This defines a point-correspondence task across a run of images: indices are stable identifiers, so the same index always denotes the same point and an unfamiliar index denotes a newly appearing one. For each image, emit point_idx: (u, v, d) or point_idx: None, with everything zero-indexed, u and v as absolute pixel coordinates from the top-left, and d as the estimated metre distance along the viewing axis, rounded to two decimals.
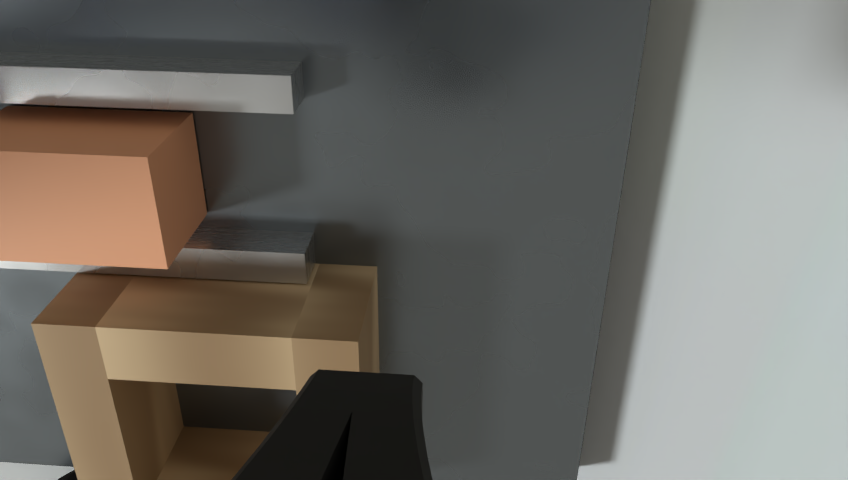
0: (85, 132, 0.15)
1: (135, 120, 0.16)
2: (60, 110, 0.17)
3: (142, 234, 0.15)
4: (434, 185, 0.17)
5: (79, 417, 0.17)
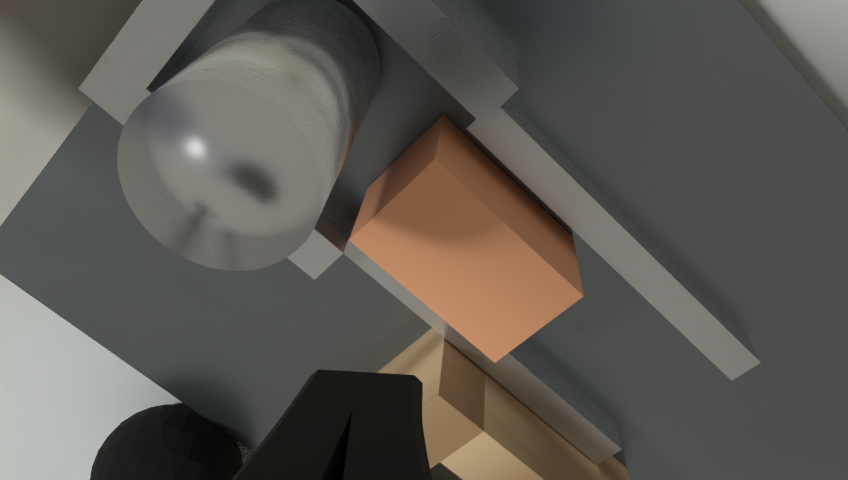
0: (522, 215, 0.16)
1: (544, 220, 0.17)
2: (485, 157, 0.16)
3: (510, 331, 0.16)
4: (725, 456, 0.20)
5: None
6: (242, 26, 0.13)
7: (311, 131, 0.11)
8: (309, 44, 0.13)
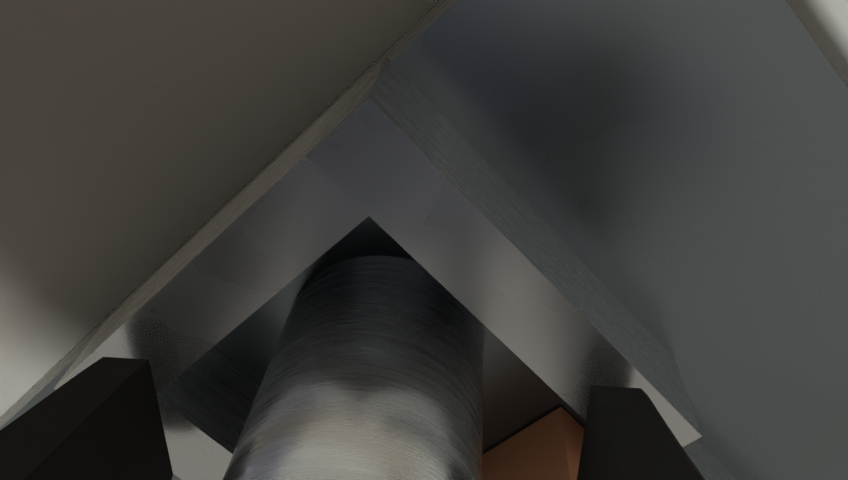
0: None
1: None
2: None
3: None
4: None
5: None
6: (313, 368, 0.09)
7: None
8: (425, 433, 0.08)
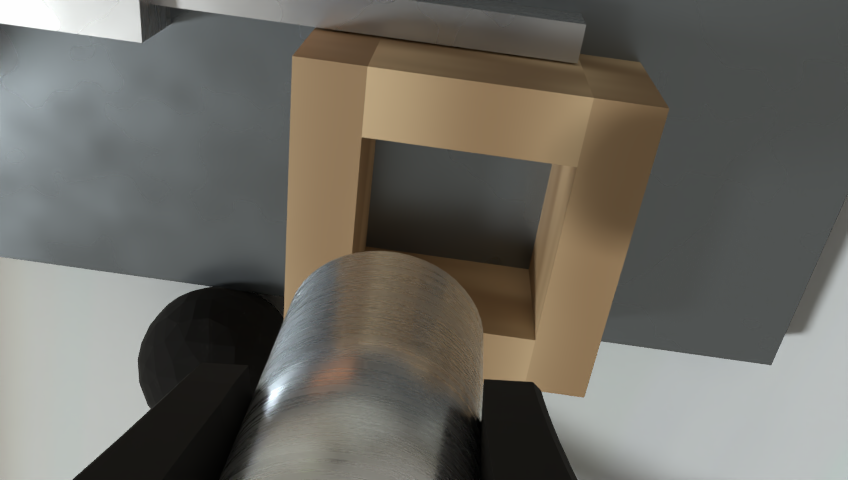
0: None
1: None
2: None
3: None
4: None
5: (312, 186, 0.15)
6: (310, 363, 0.09)
7: None
8: (423, 427, 0.08)
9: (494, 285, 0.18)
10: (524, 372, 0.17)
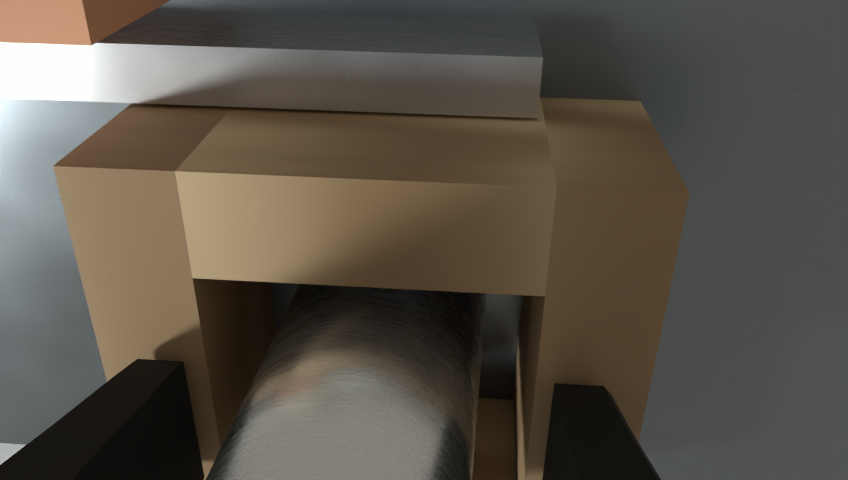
0: None
1: None
2: None
3: None
4: None
5: (136, 353, 0.10)
6: (325, 306, 0.10)
7: None
8: (422, 361, 0.09)
9: None
10: None
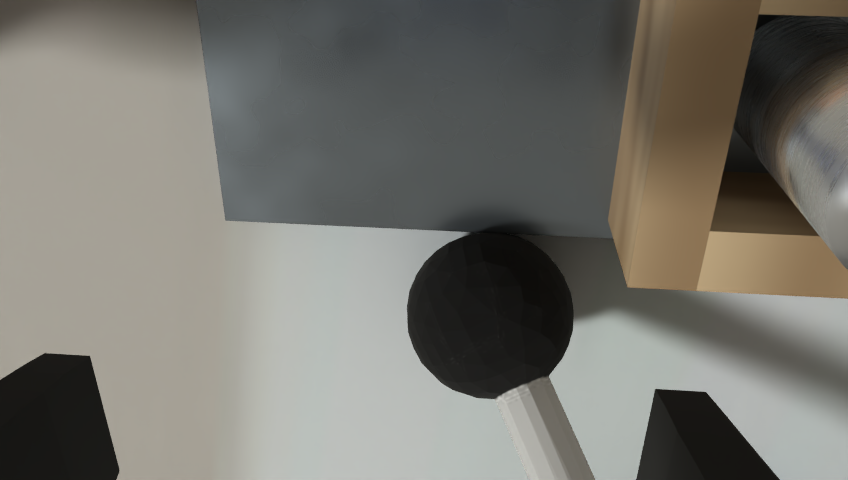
0: None
1: None
2: None
3: None
4: None
5: (691, 81, 0.13)
6: (828, 46, 0.13)
7: None
8: None
9: None
10: None
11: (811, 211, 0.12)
